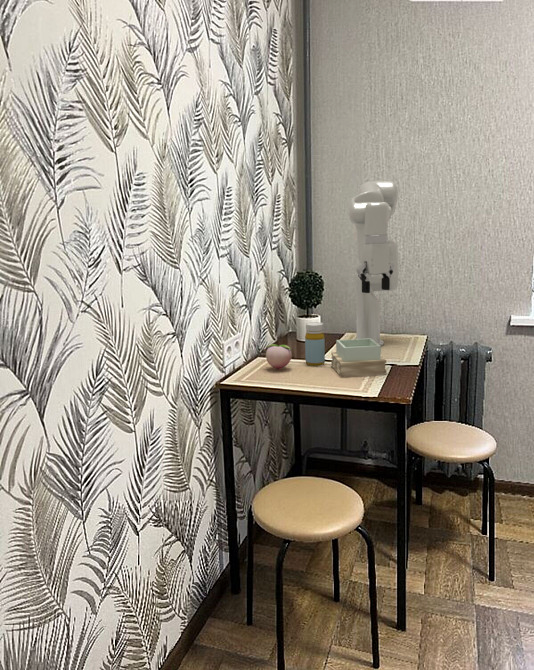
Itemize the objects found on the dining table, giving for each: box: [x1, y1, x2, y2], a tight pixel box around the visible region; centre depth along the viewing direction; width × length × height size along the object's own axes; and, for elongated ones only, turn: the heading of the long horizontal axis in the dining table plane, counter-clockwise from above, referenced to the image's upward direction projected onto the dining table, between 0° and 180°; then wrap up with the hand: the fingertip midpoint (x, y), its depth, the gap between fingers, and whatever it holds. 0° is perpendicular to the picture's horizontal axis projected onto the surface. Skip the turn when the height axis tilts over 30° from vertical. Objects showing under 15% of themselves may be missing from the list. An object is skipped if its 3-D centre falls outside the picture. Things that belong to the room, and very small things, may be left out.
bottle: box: [304, 321, 326, 367], centre depth 224 cm, size 7×7×15 cm
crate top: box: [335, 338, 382, 362], centre depth 214 cm, size 13×13×5 cm
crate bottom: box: [330, 351, 387, 378], centre depth 215 cm, size 16×16×5 cm
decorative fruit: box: [265, 341, 292, 370], centre depth 218 cm, size 9×8×10 cm
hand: (375, 291), depth 209 cm, fingers open, 9 cm apart
